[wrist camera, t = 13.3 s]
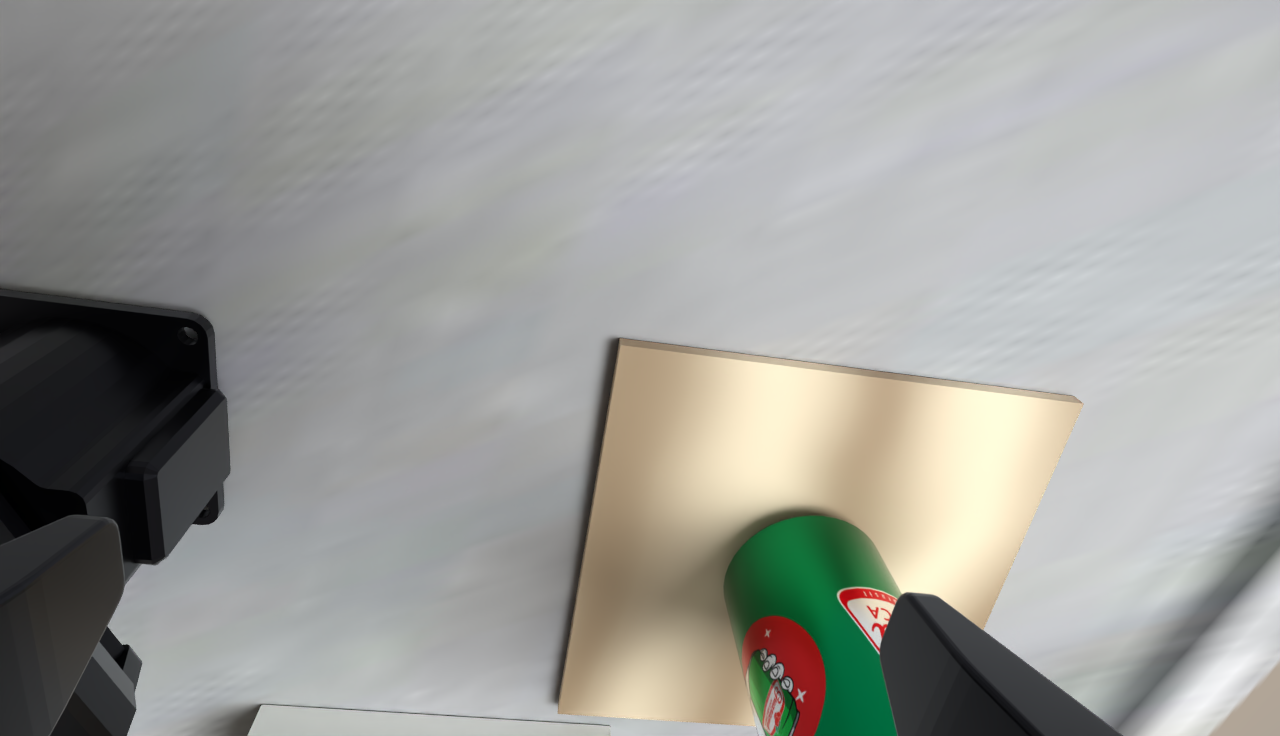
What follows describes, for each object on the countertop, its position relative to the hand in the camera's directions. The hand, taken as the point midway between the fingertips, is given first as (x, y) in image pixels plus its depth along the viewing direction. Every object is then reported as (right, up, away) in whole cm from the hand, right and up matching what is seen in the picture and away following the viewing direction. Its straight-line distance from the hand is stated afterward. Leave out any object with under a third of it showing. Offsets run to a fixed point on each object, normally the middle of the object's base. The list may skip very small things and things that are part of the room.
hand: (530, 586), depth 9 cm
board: (+6, -4, +17) cm, 18 cm away
